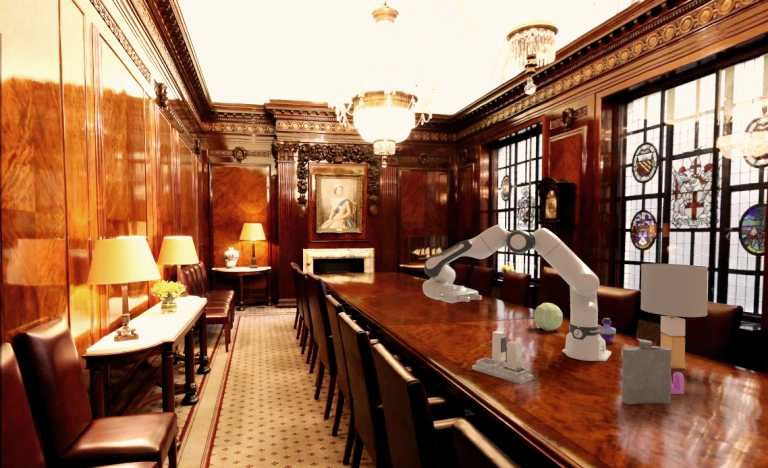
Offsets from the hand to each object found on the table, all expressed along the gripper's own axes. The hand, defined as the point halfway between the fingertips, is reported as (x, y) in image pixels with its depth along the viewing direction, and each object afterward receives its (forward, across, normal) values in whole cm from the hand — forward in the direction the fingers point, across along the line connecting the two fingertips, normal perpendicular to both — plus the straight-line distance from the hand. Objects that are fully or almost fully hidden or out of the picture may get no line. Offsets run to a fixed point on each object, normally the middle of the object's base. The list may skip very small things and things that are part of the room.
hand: (474, 298), depth 191 cm
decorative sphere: (+2, +70, +24) cm, 74 cm away
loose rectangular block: (+14, +1, +24) cm, 28 cm away
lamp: (+66, +48, +20) cm, 84 cm away
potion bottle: (+34, +68, +22) cm, 79 cm away
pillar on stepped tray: (+24, -14, +24) cm, 37 cm away
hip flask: (+71, -2, +21) cm, 74 cm away
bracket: (+71, +18, +21) cm, 76 cm away
